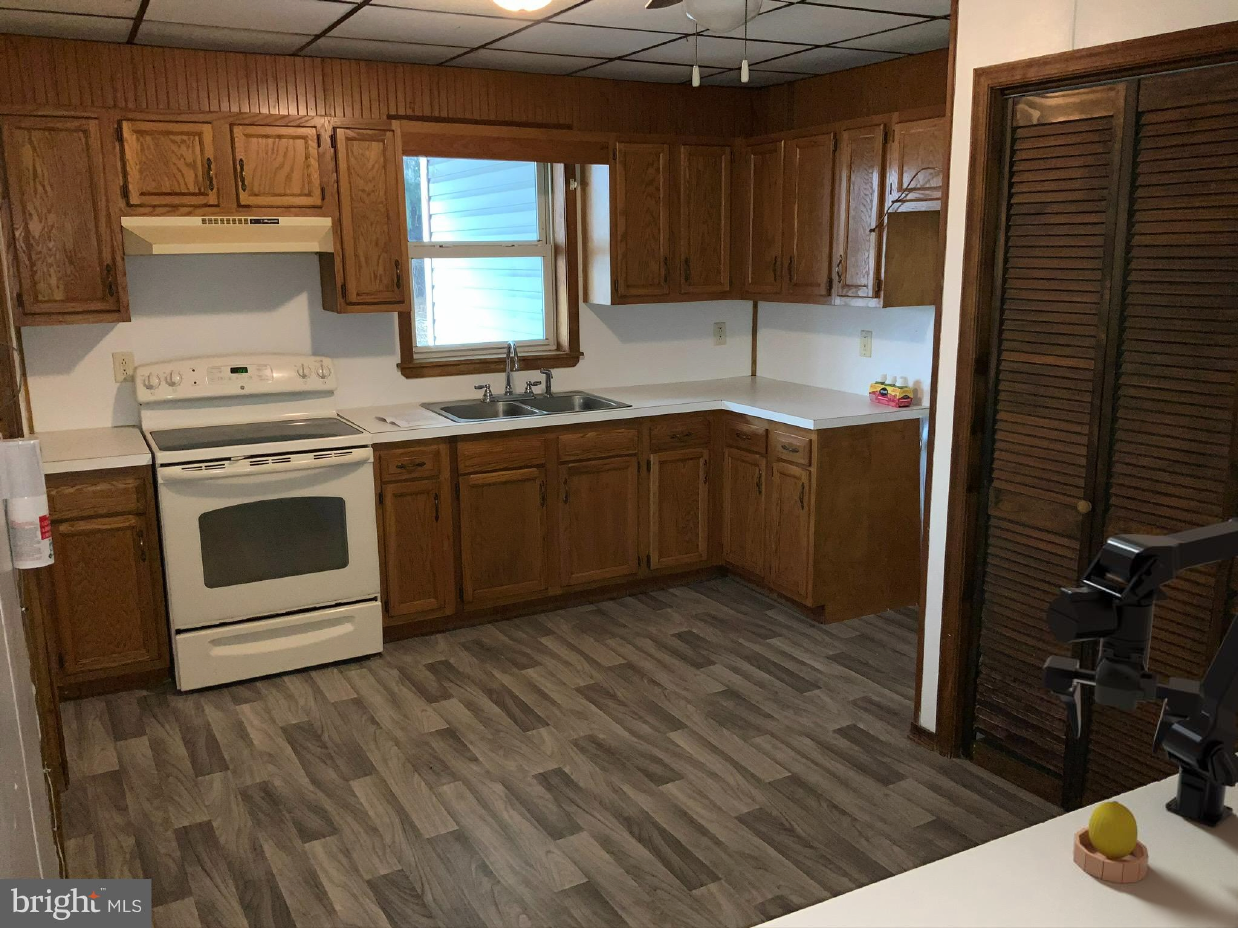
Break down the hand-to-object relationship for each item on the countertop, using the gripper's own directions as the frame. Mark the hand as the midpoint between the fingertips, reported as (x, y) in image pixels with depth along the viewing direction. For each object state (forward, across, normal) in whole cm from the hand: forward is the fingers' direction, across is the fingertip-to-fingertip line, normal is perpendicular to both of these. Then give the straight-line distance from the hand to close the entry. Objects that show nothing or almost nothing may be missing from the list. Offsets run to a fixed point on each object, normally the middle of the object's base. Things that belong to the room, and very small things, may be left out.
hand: (1115, 744), depth 133 cm
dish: (+12, +1, -9) cm, 15 cm away
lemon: (+12, +1, -9) cm, 15 cm away
